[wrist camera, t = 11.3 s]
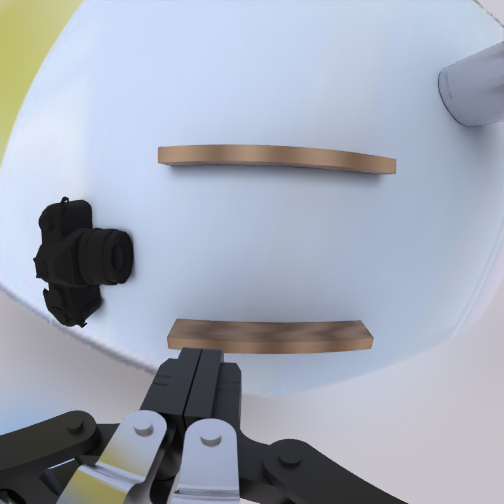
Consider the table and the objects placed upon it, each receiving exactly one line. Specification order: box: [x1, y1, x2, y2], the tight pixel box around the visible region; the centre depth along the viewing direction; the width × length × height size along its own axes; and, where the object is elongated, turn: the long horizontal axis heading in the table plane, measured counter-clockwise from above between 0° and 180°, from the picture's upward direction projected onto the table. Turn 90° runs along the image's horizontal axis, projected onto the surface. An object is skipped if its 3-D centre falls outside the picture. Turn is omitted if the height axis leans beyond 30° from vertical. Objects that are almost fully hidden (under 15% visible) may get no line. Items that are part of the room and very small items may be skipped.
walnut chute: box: [158, 145, 396, 354], centre depth 28 cm, size 23×21×4 cm
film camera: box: [33, 197, 133, 328], centre depth 26 cm, size 15×10×9 cm, turn 178°
